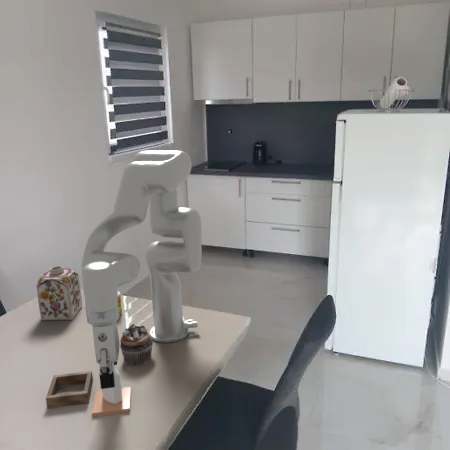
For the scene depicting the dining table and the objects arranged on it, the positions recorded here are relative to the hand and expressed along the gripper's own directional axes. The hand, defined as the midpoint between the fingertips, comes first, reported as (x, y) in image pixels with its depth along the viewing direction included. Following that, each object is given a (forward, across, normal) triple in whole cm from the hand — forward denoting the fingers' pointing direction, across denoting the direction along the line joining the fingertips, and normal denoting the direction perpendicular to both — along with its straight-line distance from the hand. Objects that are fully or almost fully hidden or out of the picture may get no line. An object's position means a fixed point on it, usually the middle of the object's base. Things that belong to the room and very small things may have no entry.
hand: (109, 375), depth 111 cm
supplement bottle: (+8, +52, +3) cm, 53 cm away
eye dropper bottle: (+7, 0, 0) cm, 7 cm away
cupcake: (+8, +20, -6) cm, 22 cm away
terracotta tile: (+8, 0, 0) cm, 8 cm away
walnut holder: (+8, +6, +11) cm, 15 cm away
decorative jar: (+8, +57, +22) cm, 62 cm away
